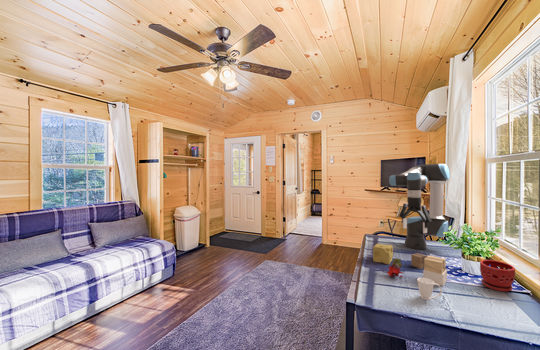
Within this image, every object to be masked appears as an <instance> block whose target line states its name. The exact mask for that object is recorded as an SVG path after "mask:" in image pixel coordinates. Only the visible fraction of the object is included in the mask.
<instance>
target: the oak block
mask: <svg viewBox="0 0 540 350" xmlns="http://www.w3.org/2000/svg"><path fill="white" fill-rule="evenodd" d="M426 256H427V257H426V258H425V259H424V268H423V270H427V271H431V272H435V273H439V274H443V272H444V271H445V270H447V269H446V266H447V265H446V264H447V263H446V258H443V257H438V256H433V255H426Z"/></svg>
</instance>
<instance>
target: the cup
mask: <svg viewBox="0 0 540 350" xmlns="http://www.w3.org/2000/svg"><path fill="white" fill-rule="evenodd" d="M416 281H417V285H418V292H419V296H420V298H421V299H423V300H426V301H427V300H430V301H431V299H435V298H438V297H440V296H441V295H442V293H443V290H442V286H441V285H439V284H436V283H434V281H432V280H431V279H428V278H423V277H418V278H417V279H416ZM434 286H438V287H439V288H440V293H438V294H437V295H435V296H432V295H433V291H434Z"/></svg>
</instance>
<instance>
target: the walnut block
mask: <svg viewBox="0 0 540 350" xmlns="http://www.w3.org/2000/svg"><path fill="white" fill-rule="evenodd" d="M410 256H411V257H410V258H411V260H410V261H411V266H412V267H415V268H417V269H421V270H422V269H424V259H425V258H426V257H427V256H428V255H426V254H423V253H419V252H416V253H412V254H411V255H410Z"/></svg>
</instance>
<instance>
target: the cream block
mask: <svg viewBox="0 0 540 350" xmlns="http://www.w3.org/2000/svg"><path fill="white" fill-rule="evenodd" d="M422 275H423V277H422V278H428V279H431V280H432V281H434V283H436V284H439V285H440V287H444V286H445V285H446V283H447V281H448V270H447V269H446V270H445V271H444V272H443V274H439V273H435V272H431V271H427V270H424V269H423V272H422Z"/></svg>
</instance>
